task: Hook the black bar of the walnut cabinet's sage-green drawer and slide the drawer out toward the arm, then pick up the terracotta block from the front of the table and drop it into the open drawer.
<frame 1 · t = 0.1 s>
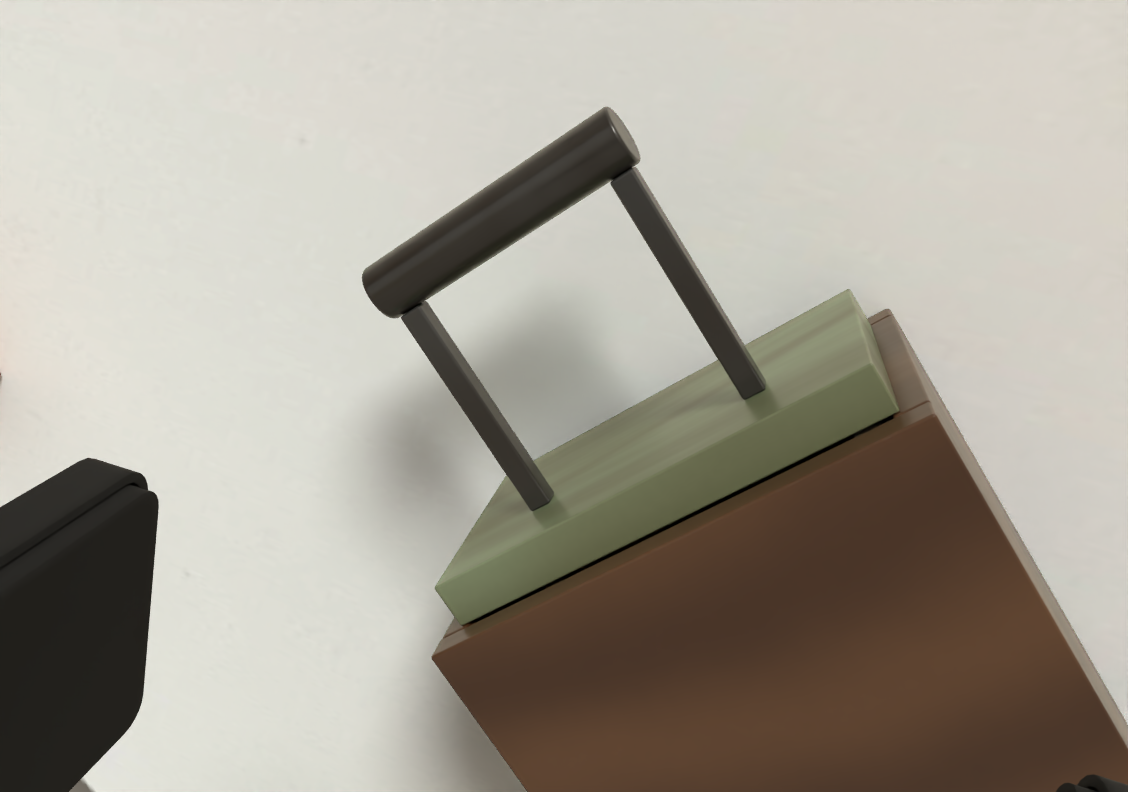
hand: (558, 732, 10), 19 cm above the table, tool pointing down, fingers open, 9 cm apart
cabinet: (812, 607, 30), on the table
drawer: (715, 530, 25), point 4 cm above the table, slide at 0.0 cm
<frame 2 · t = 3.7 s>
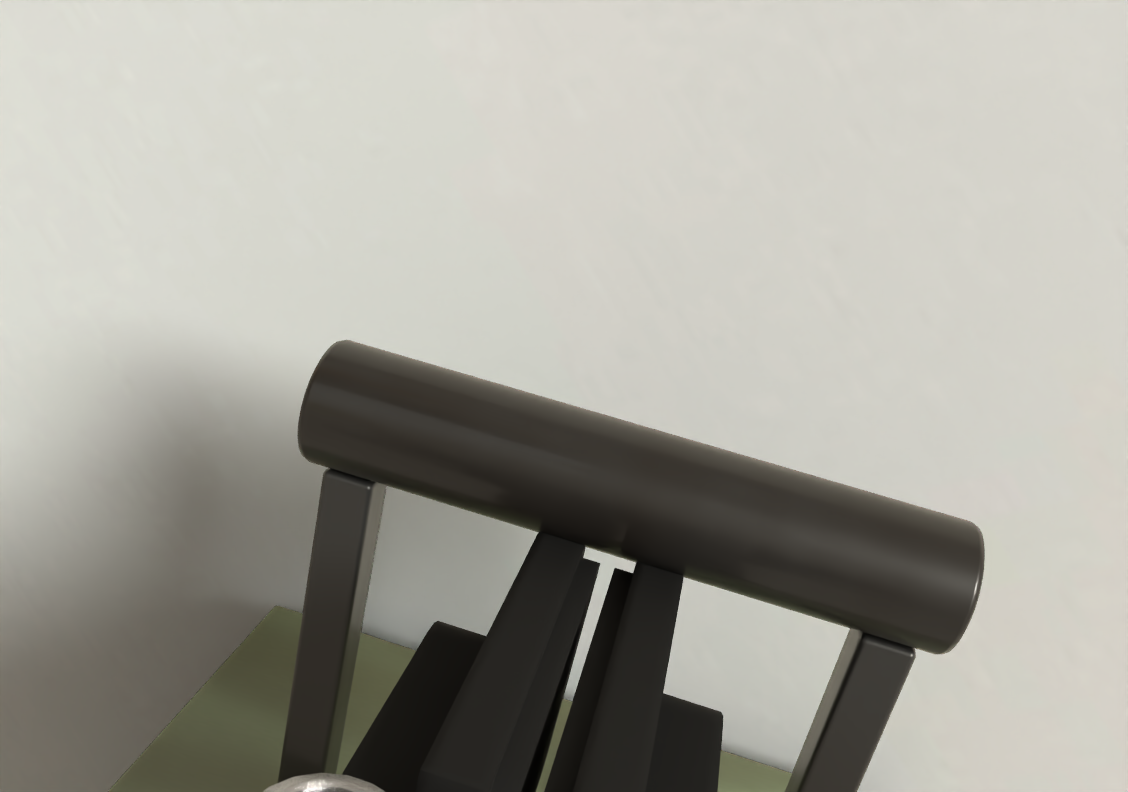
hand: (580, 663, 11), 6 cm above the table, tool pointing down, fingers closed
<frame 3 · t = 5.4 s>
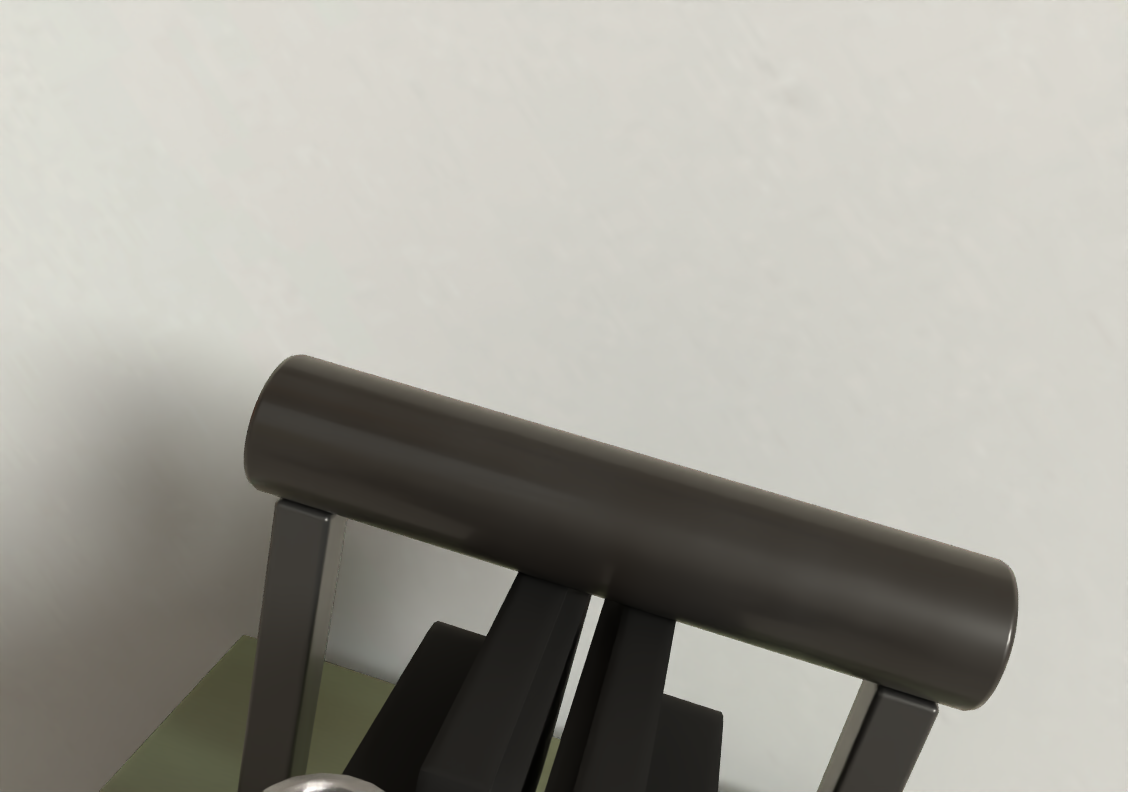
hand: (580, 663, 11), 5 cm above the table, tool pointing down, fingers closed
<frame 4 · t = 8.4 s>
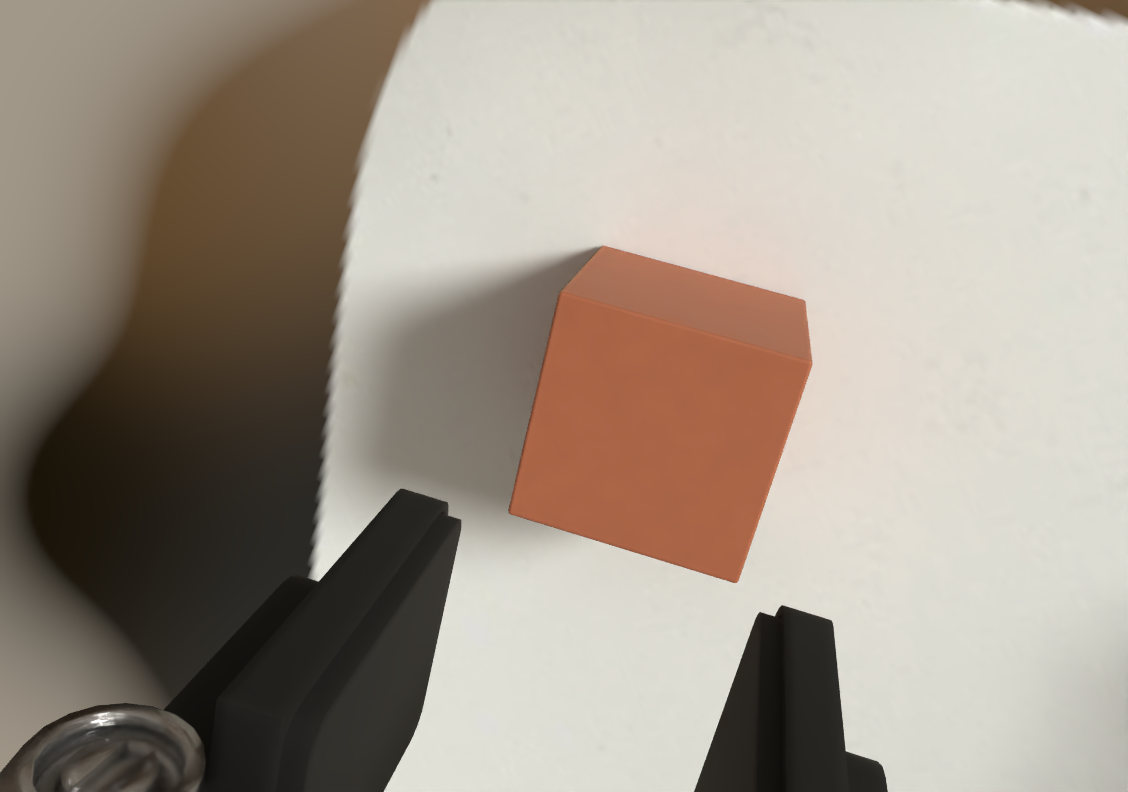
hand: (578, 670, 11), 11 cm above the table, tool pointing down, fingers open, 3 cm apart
block: (675, 368, 21), on the table
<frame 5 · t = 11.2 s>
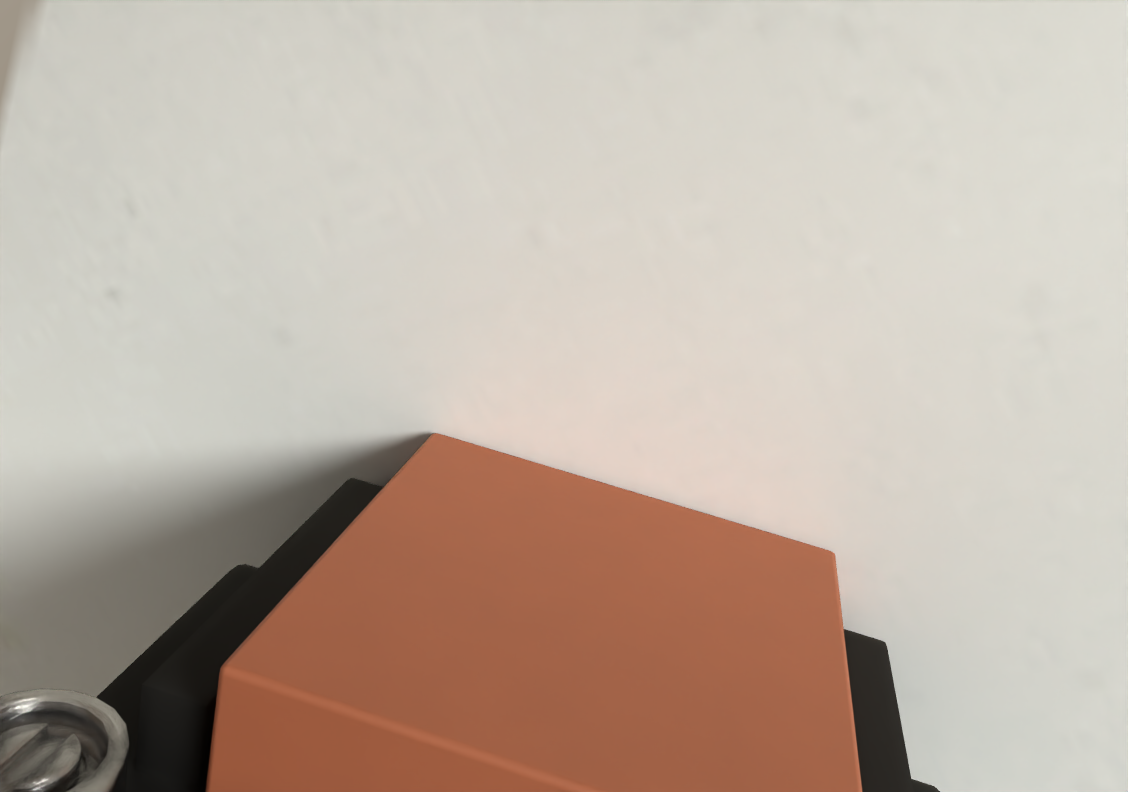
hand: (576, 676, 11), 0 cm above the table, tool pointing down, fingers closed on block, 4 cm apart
block: (582, 658, 11), on the table, touching gripper
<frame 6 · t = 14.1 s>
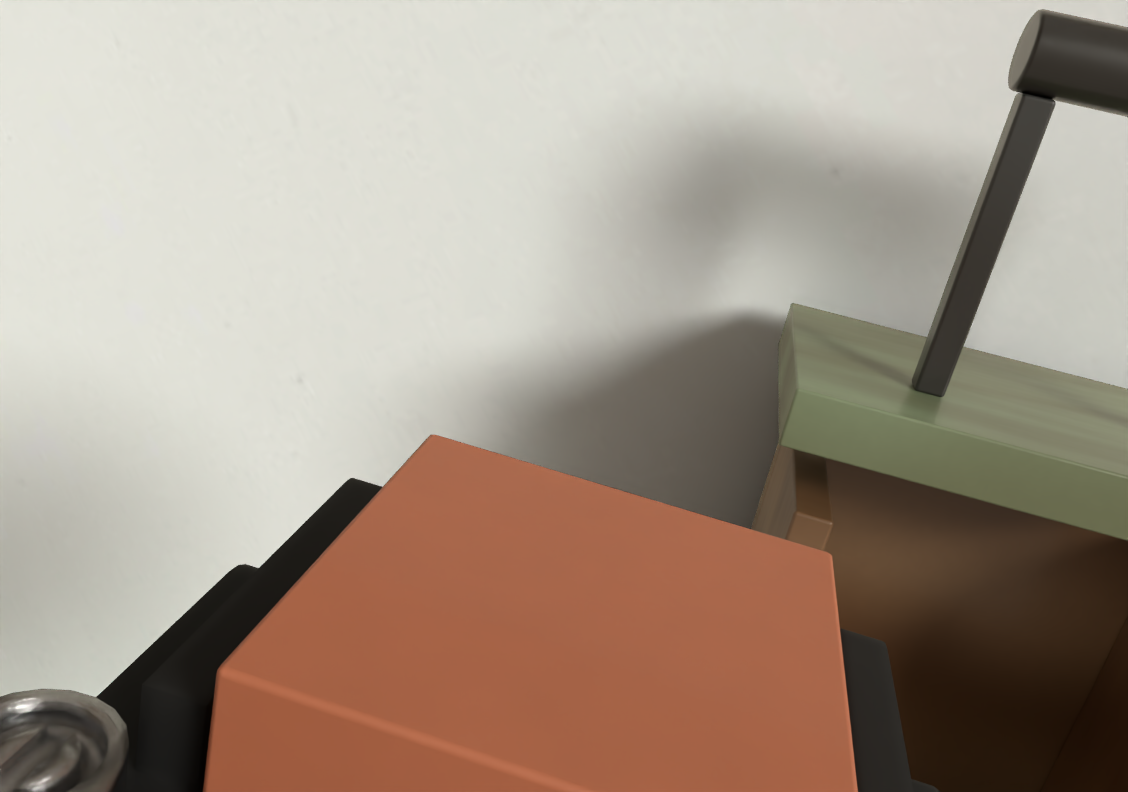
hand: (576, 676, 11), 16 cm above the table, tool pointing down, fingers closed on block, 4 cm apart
drawer: (1005, 537, 22), point 4 cm above the table, slide at 8.3 cm
block: (580, 659, 11), point 16 cm above the table, touching gripper
when the fingers open (8 cm above the table, at t = 17.3 s): block drops 6 cm, resting on drawer.
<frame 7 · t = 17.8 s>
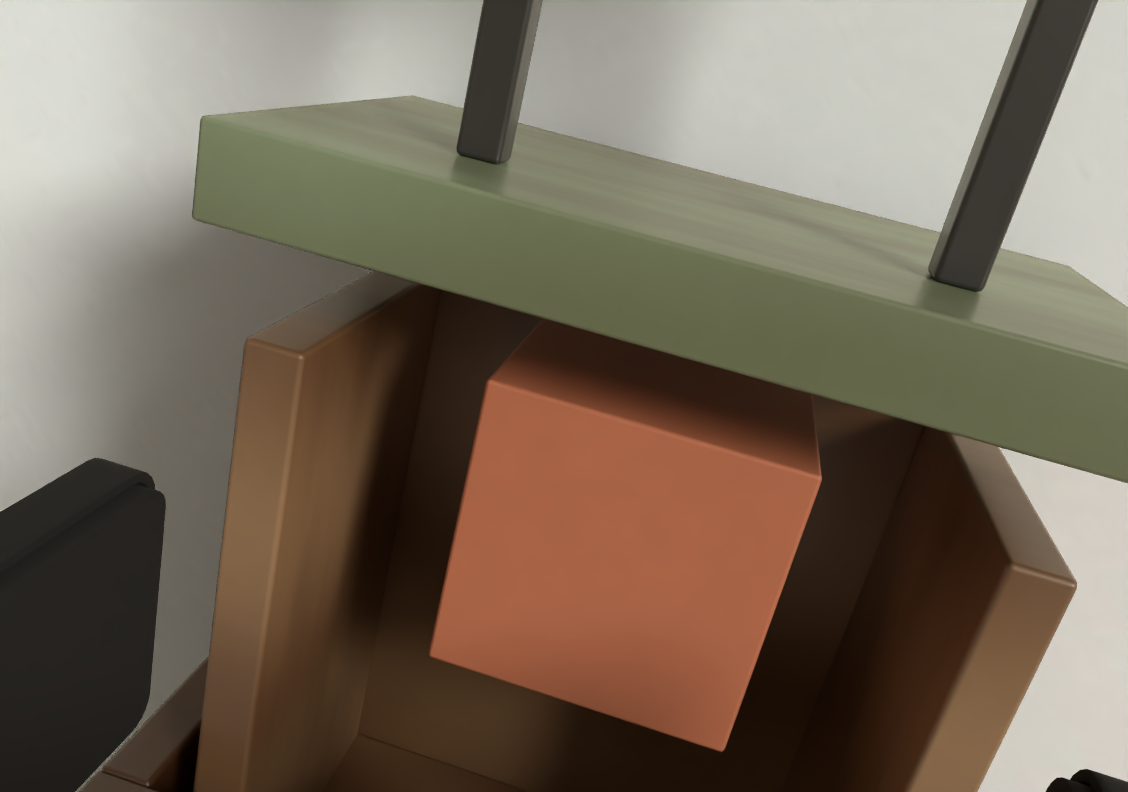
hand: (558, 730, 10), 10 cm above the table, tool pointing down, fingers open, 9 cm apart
drawer: (658, 413, 14), point 4 cm above the table, slide at 8.3 cm, touching block
block: (648, 452, 17), point 2 cm above the table, touching drawer
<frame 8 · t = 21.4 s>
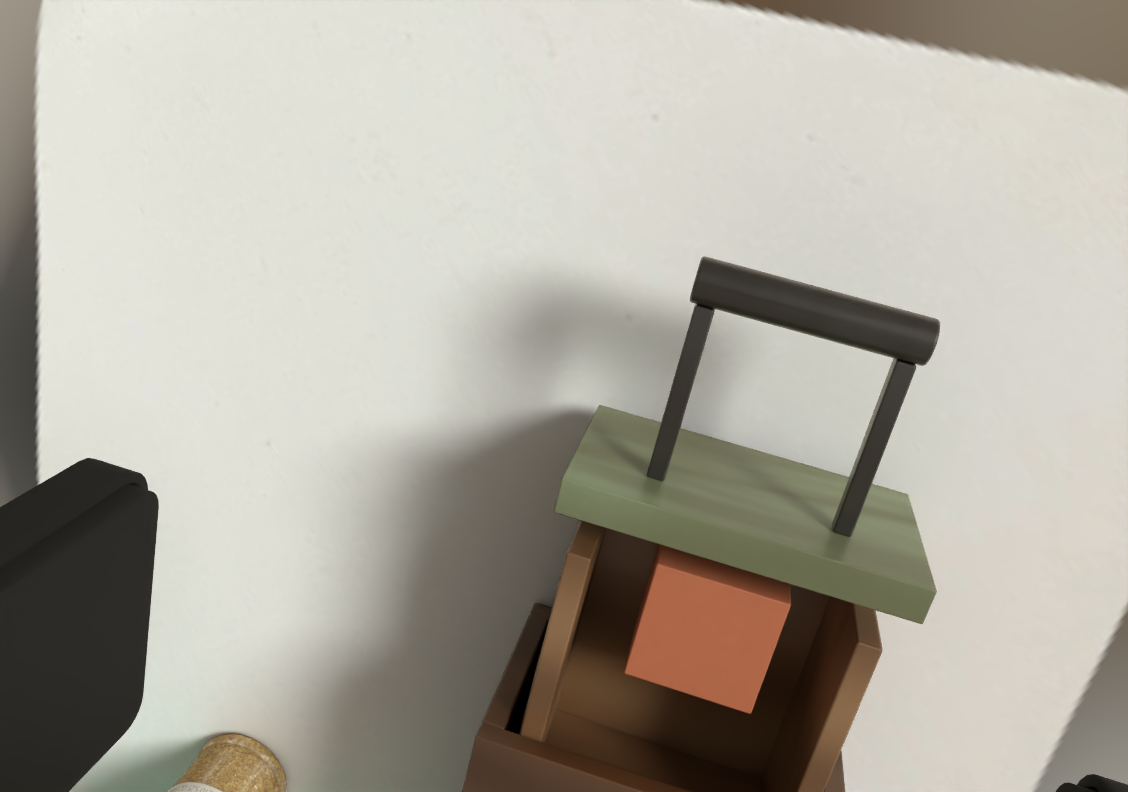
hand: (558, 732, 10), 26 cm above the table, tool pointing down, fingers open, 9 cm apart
cabinet: (638, 786, 42), on the table
sprinkles bottle: (246, 767, 47), on the table
drawer: (721, 567, 33), point 4 cm above the table, slide at 8.3 cm, touching block
block: (712, 574, 36), point 2 cm above the table, touching drawer
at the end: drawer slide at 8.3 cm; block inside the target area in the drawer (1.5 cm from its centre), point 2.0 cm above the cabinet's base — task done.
